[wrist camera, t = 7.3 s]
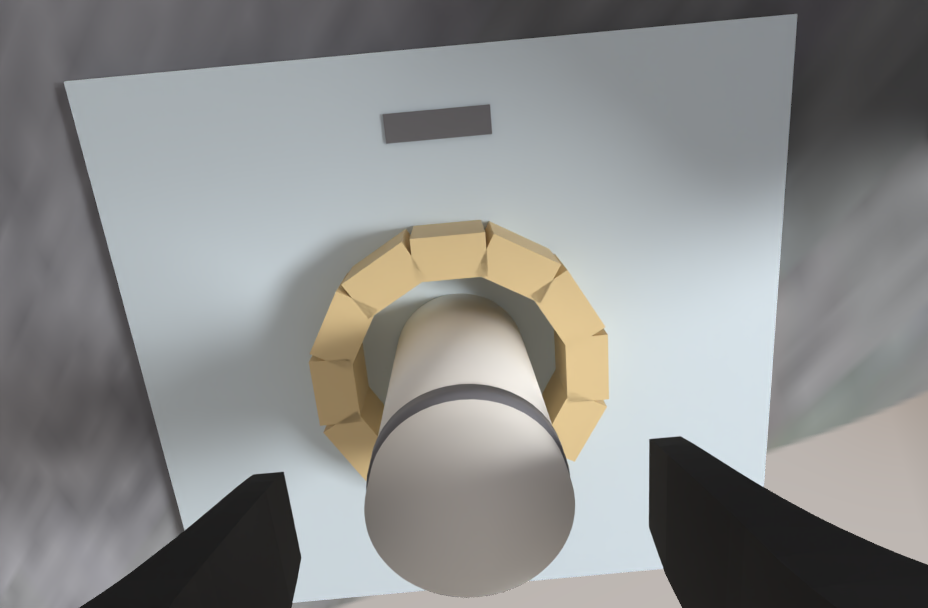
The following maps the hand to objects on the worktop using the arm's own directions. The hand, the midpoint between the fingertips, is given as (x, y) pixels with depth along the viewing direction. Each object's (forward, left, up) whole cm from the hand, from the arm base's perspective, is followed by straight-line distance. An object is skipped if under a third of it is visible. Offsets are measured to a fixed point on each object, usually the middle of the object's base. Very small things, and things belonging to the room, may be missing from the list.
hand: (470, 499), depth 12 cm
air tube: (0, 0, -8) cm, 8 cm away
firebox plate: (0, 0, -8) cm, 8 cm away
